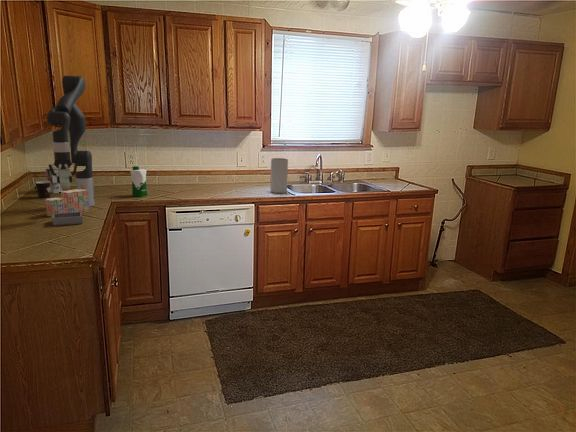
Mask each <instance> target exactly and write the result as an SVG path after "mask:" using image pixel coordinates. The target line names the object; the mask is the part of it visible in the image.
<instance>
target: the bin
mask: <svg viewBox="0 0 576 432" xmlns="http://www.w3.org/2000/svg"><path fill="white" fill-rule="evenodd" d="M51 218H52V220H51V221H52V226H53V227H57V226H58V227H59V226H71V225H73V226H75V225H83V215H82V212H71V213H56V214H53V217H51Z"/></svg>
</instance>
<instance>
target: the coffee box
mask: <svg viewBox="0 0 576 432" xmlns="http://www.w3.org/2000/svg"><path fill="white" fill-rule="evenodd" d="M53 170H54V172H55V173H57V171H58V168H57V167H54V168H53ZM45 179H46V181H50V182H51V183H50V194H60V193H59V192H61V191H63V188H60V184H59V183H58V182H57V177H56V176H53V175H52V173H51V170H50V168H49V167H48V168H45Z"/></svg>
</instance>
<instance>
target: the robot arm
mask: <svg viewBox="0 0 576 432" xmlns="http://www.w3.org/2000/svg"><path fill="white" fill-rule="evenodd" d="M61 83H62V85H61V86H62V90H63V95H62V96H61V97H60V98H59V99H58V101H57V104H56V105H55V106H54V107H52V108H51V109H50V110H49V111H48V113H47V114H46V122H47V123H48V124H49V125H51V126H61V128H60V129H57V130H54V131H52V141H53V143H52V145H53V157H54V162H53V163H49V164H48V169H49V168H50V170H51V173H52V175H53V176H56V177H57V182H58V183H59V184H60V178H59V169H68V170H69V181H70V184H72V182H73V176H75V184H76V186H75V187H76V189H84V190H87V192H88V206H89V208H90V207H94V206H95V191H94V189H95V188H94V179H93V178H94V177H93V156H92V152H91V151H90V150H78V145H79V143H80V140H81V139H82V137H83V135H84V133H85V132H86V130H87V123H86V117H85V115H84V113H83V112H82V111H83V110H81V108H80V107H79V106H78V105H77V103H76V102H77V101H78V100H79V99H80V98H81V96H82V95H83V94H84V92H85V91H86V80H85V78H84V77H82V76H79V75H63V76H62V79H61ZM69 142H70V143H69ZM71 167H72V168H73V171H72V172H71V169H70V168H71ZM78 167H85V168H84V169H83V170H81V171H80V170H79V171H78V172H77V168H78ZM53 168H56V169H58V171H57V173H55V172H54V170H53Z"/></svg>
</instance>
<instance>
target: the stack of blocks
mask: <svg viewBox="0 0 576 432" xmlns="http://www.w3.org/2000/svg"><path fill="white" fill-rule="evenodd" d="M44 200H45V212H46V216H48V217H51V218H53V214H56V213H71V212H86V211H90V207H89V206H88V192H87V190H84V189H77V188H75V189H71V190H70V189H69V190H62V191H61V193H60V196H57V197H50V198H44Z"/></svg>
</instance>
